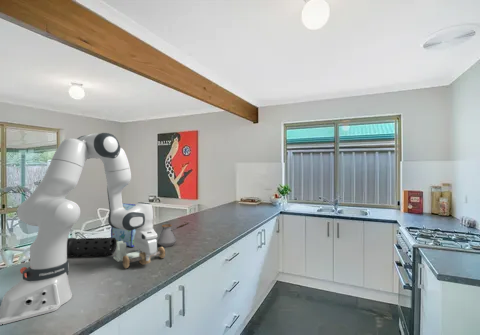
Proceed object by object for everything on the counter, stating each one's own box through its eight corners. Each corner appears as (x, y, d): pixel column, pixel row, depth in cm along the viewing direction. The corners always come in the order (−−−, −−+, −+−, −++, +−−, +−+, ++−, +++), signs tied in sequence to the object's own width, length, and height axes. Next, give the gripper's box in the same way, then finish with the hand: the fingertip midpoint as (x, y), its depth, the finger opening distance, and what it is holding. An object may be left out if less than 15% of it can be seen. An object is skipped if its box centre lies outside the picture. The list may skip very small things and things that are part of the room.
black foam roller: (109, 258, 140) (109, 239, 140) (57, 259, 138) (57, 241, 138) (116, 252, 149) (116, 235, 149) (68, 253, 148) (68, 236, 148)
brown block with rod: (127, 269, 123) (127, 257, 123) (122, 266, 127) (122, 254, 127) (165, 259, 137) (165, 248, 137) (160, 256, 142) (160, 245, 142)
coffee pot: (154, 247, 157) (154, 223, 158) (163, 242, 169) (162, 219, 169) (186, 249, 154) (185, 224, 154) (193, 243, 165) (192, 220, 165)
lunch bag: (152, 241, 170) (151, 203, 171) (131, 248, 156) (131, 206, 156) (130, 237, 181) (129, 201, 181) (108, 243, 166) (108, 204, 166)
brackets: (118, 261, 134) (117, 244, 134) (113, 258, 139) (113, 242, 139) (152, 253, 147) (151, 237, 147) (146, 250, 152) (146, 235, 152)
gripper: (130, 230, 137) (130, 255, 137) (147, 237, 123) (147, 265, 123) (141, 228, 142) (142, 252, 142) (159, 235, 127) (159, 262, 127)
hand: (144, 259), depth 132 cm, fingers closed on brown block with rod, 4 cm apart
